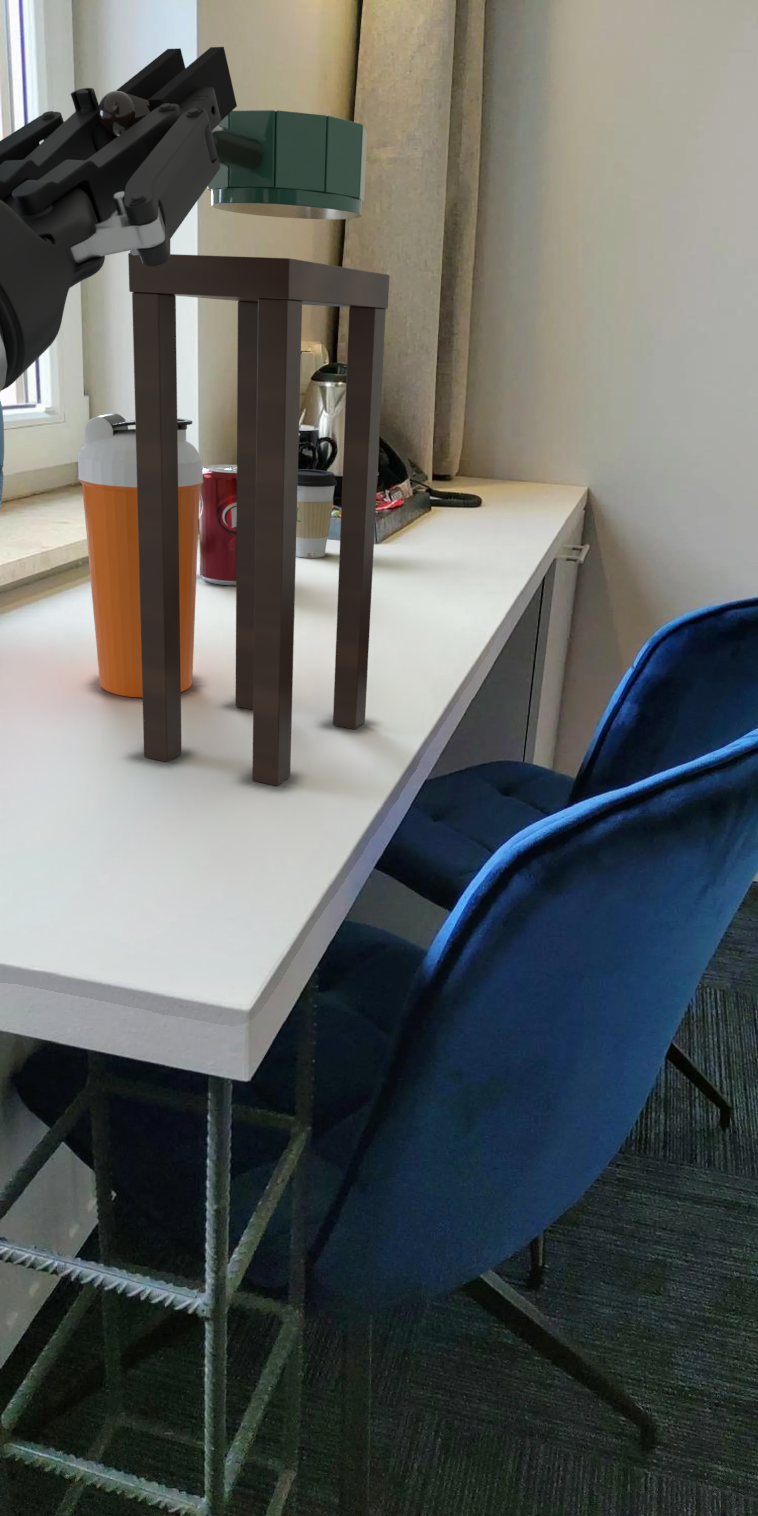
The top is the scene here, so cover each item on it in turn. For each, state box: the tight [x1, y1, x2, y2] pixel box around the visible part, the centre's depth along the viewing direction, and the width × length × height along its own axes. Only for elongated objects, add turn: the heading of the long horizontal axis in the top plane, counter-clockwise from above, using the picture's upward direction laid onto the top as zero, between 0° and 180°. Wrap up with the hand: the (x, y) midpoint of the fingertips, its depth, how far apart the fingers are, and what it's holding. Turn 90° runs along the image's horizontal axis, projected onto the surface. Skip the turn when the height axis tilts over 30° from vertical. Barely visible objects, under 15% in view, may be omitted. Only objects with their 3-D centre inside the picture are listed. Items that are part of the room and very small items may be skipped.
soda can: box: [198, 464, 237, 587], centre depth 121 cm, size 7×7×12 cm
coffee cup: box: [296, 468, 338, 559], centre depth 137 cm, size 7×7×10 cm
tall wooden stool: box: [127, 252, 390, 787], centre depth 71 cm, size 14×10×30 cm
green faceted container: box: [98, 90, 368, 220], centre depth 60 cm, size 22×9×5 cm, turn 157°
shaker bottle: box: [77, 412, 204, 699], centre depth 83 cm, size 9×9×20 cm
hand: (202, 77), depth 56 cm, fingers closed on green faceted container, 2 cm apart
